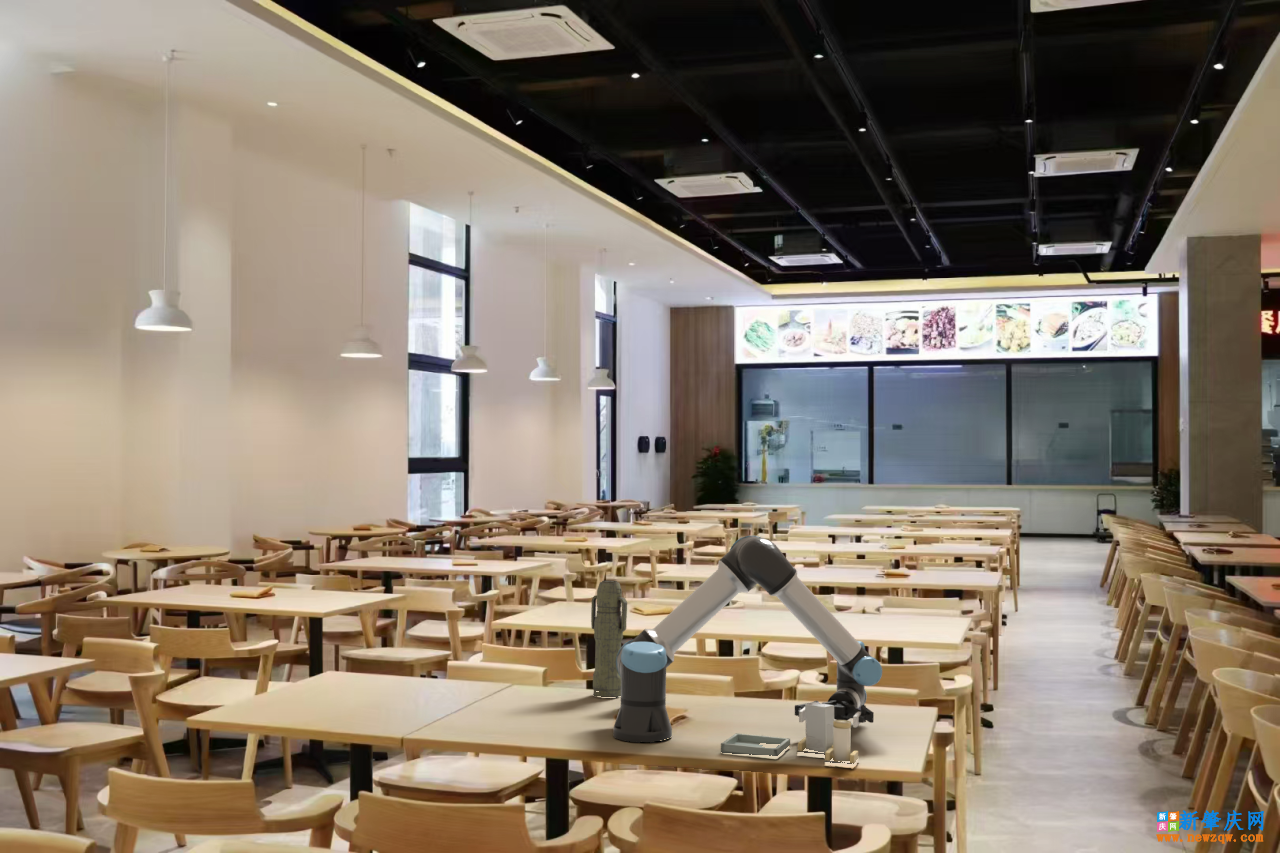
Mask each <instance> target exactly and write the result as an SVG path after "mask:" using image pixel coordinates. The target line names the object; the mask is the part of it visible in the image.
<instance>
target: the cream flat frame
mask: <svg viewBox="0 0 1280 853" xmlns="http://www.w3.org/2000/svg"><path fill="white" fill-rule="evenodd" d="M805 748H806V736H804V737H803V738H802V739H801V740H799V742H797V750H796V753H797V752H804V753H815V754H824V755H825V759H824V761H823V763H824V762H830V763H831V762H832V763H841V762H838V761H830V760H831V759H832V758H833V745H832V746H831V748H829V749H828V750H827V751H826V752H825V753H818V752H808V751H803V750H804V749H805ZM858 758H859V750H853V751H852V752H850V763H847V764H852V763H853V764H854V763H855V762H856V760H857V759H858ZM842 763H843V762H842ZM844 763H845V762H844Z"/></svg>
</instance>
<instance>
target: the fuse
mask: <svg viewBox="0 0 1280 853" xmlns="http://www.w3.org/2000/svg"><path fill="white" fill-rule="evenodd" d="M851 728H852V721H850V720H835V719H834V721H833V760H834V761H840V762H842V761H850V754H851V747H852V746H851V744H852V743H851V740H852V739H851V738H852V737H851V732H852V731H851Z"/></svg>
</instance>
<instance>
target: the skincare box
mask: <svg viewBox="0 0 1280 853" xmlns="http://www.w3.org/2000/svg"><path fill="white" fill-rule="evenodd" d="M812 702H813V703H811V702H808V703H809V704H805V703H804V704H805V719H806V720H805V737H806V749H809V750H814V751H818V752H824V753H825V752H826V751H827V750H828V749H829V748H831V746H832V745H833V721H834V720H835V719H834V705H828V704H822V703H823V702H819V703H816V702H814V701H812Z"/></svg>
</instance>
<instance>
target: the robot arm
mask: <svg viewBox="0 0 1280 853" xmlns="http://www.w3.org/2000/svg"><path fill="white" fill-rule="evenodd" d="M757 585H759V586H760V587H761V588H762V589H764V590H765V591H766V593H767V594H768V595H769V596H771V597H776V598H777V599H778V600H779V601H780V602H781V603H782V604H783V605H784V606H785V607H786V608H787V609H788V610H789V611H790V613H792V615H793V616H794V617H795V618H796V619H797V620H798V621H799V623H801V624H802V626H804V628H805V629H806V630H808V632H809V633H810V634H811V635H812V636H813V638H815V640H817V641H818V643H820V645H821V646H822V647H823V648H824V649H825V650H826V651H827V652H828V653H829V654H830V655H831V657H833V659H835V660H836V691H835V692H834V693H833V694H832V695H831V696H829V698H828V700H827V701H826V702H825V701H822V702H821V703H822V704H828V705H834V720H847V721H850V720H851V719H853V720H852V728H858V726H859V725H860V724H861V723H866V722H868V723H871V724H872V723H874V716H875V715H874V712H873V711H872V710H870V709H869V708H868V707H867V705H865V704H866V702H867V697H868V696H867V690H866V689H865V687H872V686H874V685H877V684H878V683H879V682H880V681H881V678H882V676H883V667H882V665H881V663H880V662H879V661H878V659H877V658H875V657H873V656H872V655H871V654H869V652H868V651H867V650H866V647H865V643H864V642H863V641H861V640H857V639H856V638H855V637H854V636H853V635H852V634H851V633H850V632H849V631H848V630H847V628H845V626H844V625H843V624H842V623H841V622H840V621H839V619H837V618H836V617H835V615H833V613H831V611H829V609H828V608H827V607H826V605H824V604H823V603H822V602H821V600H820V599H819V598H817V596H816V595H815V594H814V593H813V592H812V591H811V590H810V589H809V587H808V586H806V585H805V584H804V582H803V581H802V580H801V579H800V578H799V577H798V570H797V569H796V568H795V567H794V566H793V565H792V564H791V562H790V561H789V559H787V558H786V556H785V555H784V553H783V552H782V550H780V548H779V547H778V546H777V545H776V544H775V543H774V542H773V541H771V540H769V539H767V538H764V537H761V536H759V535H758V536H757V535H747V536H744V537H741V538H738V539H737V540H736V541H734V543H733V544H732V545H731V547H730V549H729V551H728V552H727V553H725V554H724V555H723V556H722V558H720V559H719V560H718V567H717V570H715V572H713V573H712V574H711V575H710V576H709V577H708V578H707V579H706V580H705V581H704V582H702V583H701V584H700V585H699V586H698V587H697V588H696V589H695V590H694V591H693V592H692V593H691V594H690V595H689V596H687V597H686V598H685V599H684V600H683V601H682V602H681V603H679V604H678V605H677V606H676V608H674V609H673V610H672V611H671V612H670V613H669V614H667V616H665V618H664V619H662V620H661V621H659V623H658V624H657V625H656V626H655V627H654V628H644V629H643V630H642V631H641V632H640V633H639V634H637V636H636V637H634V638H633V639H631V640H629V641H627V642H625V643H624V644H623V645H621V648H620V650H619V652H618V654H617V659H616V667H617V671H618V673H619V675H620V677H621V697H620V707H619V710H618V713H617V716H616V719H615V722H614V724H613V732H612V736H613V738H614V739H616V740H619V741H624V742H629V741H630V742H629V743H640V742H650V743H654V742H653V741H660V740H664V739H667V738H670V737H671V736H672V737H673V728H672V724H671V721H670V718H669V715H668V711H667V707H666V702H667V701H666V698H667V697H666V696H667V695H666V694H667V687H666V686H667V669H668V667H669V666H671V664H673V662H674V661H675V654H676V652H677V651H679V649H680V648H682V647H683V646H684V645H685V644H686V643H687V642H688V641H689V640H690V639H691V638H692V637H693V636H694V635H695V634H696V633H698V631H700V630H701V629H702V628H703V627H704V626H705V625H706V624H707V623H708V622H709V621H710V620H711V619H713V618H714V617H715V616H716V615H717V614H718V613H719V612H720V611H721V610H722V609H723V608H724V607H726V606H727V605H728V604H729V603H730V602H731V601H732V600H733V599H734V598H735V597H736V596H737V595H739V594H740V593H749V592H750V591H751V590H752V589H753V588H754V587H756V586H757ZM813 702H816V703H820V702H819V701H818V700H815V701H811V702H805V703H801V704H795V705H794V716H795V717H798V723H803V722H804V721H806V719H805V704H809V703H813Z"/></svg>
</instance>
